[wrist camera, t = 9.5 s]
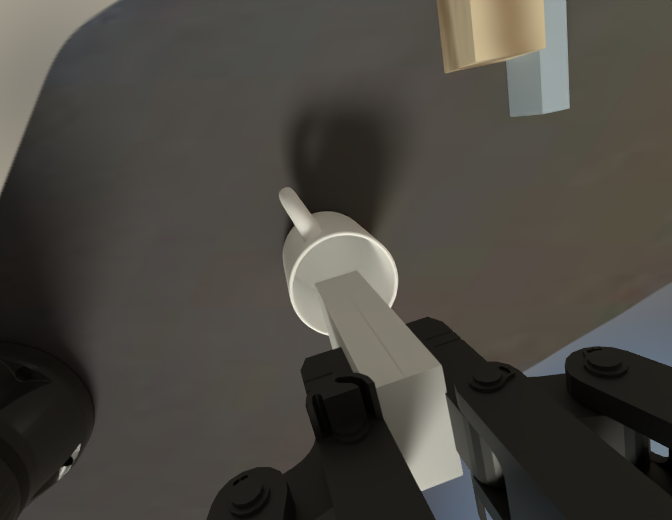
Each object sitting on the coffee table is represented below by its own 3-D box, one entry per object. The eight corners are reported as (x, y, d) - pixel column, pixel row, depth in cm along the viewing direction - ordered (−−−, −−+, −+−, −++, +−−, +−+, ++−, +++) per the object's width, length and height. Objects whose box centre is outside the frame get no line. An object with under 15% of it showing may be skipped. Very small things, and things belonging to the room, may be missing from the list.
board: (510, 116, 41) (542, 114, 37) (496, -78, 37) (531, -111, 32) (534, 111, 42) (569, 108, 37) (523, -83, 37) (562, -116, 32)
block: (444, 73, 39) (475, 61, 34) (435, 0, 38) (467, -25, 32) (505, 61, 40) (545, 48, 34) (499, -12, 38) (541, -38, 33)
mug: (242, 205, 39) (236, 227, 30) (319, 157, 39) (339, 163, 30) (310, 307, 43) (325, 356, 33) (381, 263, 43) (416, 300, 33)
